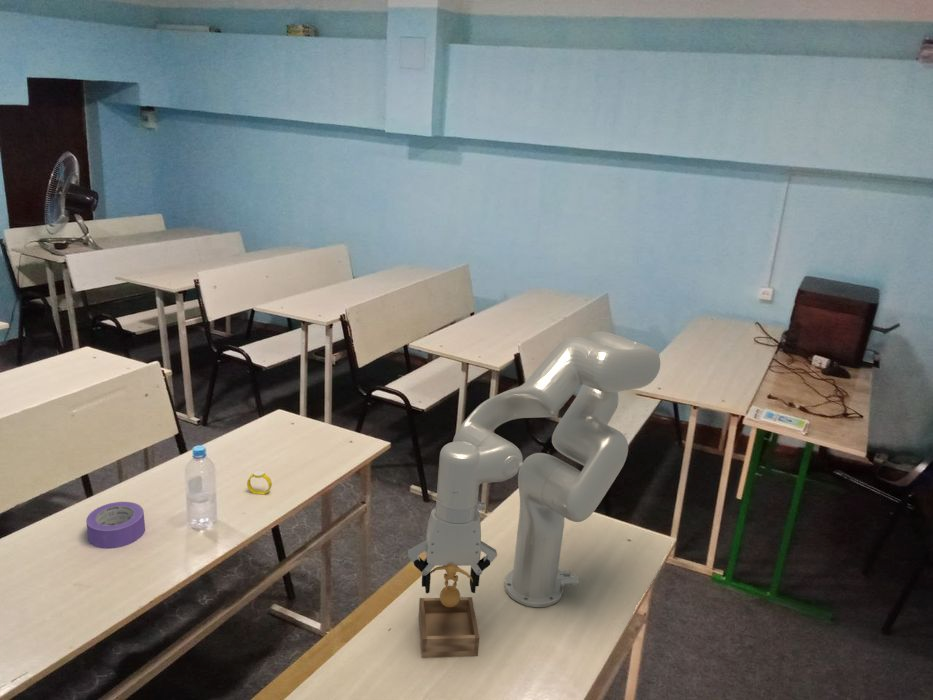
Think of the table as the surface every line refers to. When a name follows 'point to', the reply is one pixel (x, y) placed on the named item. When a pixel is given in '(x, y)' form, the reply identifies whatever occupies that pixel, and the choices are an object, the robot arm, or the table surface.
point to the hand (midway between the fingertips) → (449, 588)
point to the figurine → (450, 593)
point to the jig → (448, 628)
